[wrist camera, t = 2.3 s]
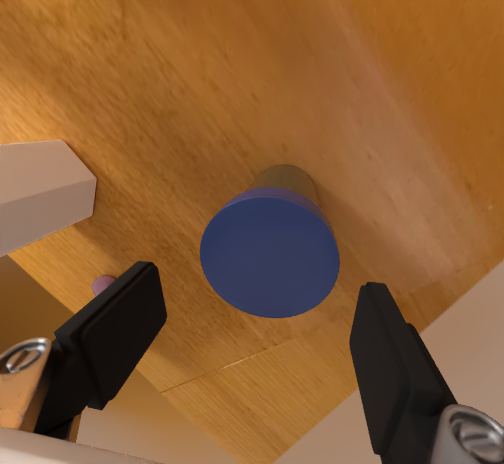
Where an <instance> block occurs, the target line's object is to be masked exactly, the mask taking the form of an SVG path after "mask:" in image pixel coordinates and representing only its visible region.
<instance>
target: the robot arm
mask: <svg viewBox="0 0 504 464" xmlns="http://www.w3.org/2000/svg"><path fill="white" fill-rule="evenodd" d="M166 319H167V312H166V307H165V302H164V297H163V292H162V287H161V282H160V277H159V272H158V268H157V266H155V265H154V263H152V262H145V261H138V262H136V263H135V264H134V265H133V266H132V267H130V268H129V269H128V270H127V271H126V272H125V273H123V274H122V275H121V276H120V277H119V278H117V279H116V280H115V281H114V282H113V283H112V284H110V285H109V286H108V287H107V288H106V289H104V290H103V291H102V292H101V293H100V294H99V295H97V296H96V297H95V298H94V299H93V300H92V301H90V302H89V303H88V304H87V305H86V306H84V307H83V308H82V309H81V310H80V311H79V312H77V313H76V314H75V315H74V316H73V317H71V318H70V319H69V320H68V321H67V322H66V323H64V324H63V325H62V326H61V327H60V328H58V329H57V330H56V331H55V332H54V334H55V336H56V339H55V340H54V341H53V342H51V341H50V339H47V338H45V337H37V338H32V339H28V340H25V341H22V342H20V343H18V344H16V345H14V346H12V347H10V348H9V349H7V350H6V351H4V352H3V353H2V354H1V355H0V464H162V463H158V462H154V461H150V460H146V459H141V458H137V457H132V456H129V455H125V454H121V453H116V452H112V451H108V450H103V449H99V448H95V447H91V446H86V445H82V444H78V443H76V438H77V433H78V429H79V424H80V419H81V414H82V411H83V410H84V408H85V407H86V406H88V407H89V408H93V409H98V410H103V408H104V407H105V405H106V404H107V403H108V401H109V400H112V399H113V398H114V397H115V396H116V395H117V393H118V392H119V390H120V389H121V387H122V386H123V384H124V383H125V381H126V380H127V379H128V377H129V376H130V374H131V373H132V371H133V370H134V368H135V367H136V365H137V364H138V362H139V361H140V359H141V358H142V356H143V355H144V353H145V352H146V350H147V349H148V347H149V346H150V345H151V343H152V342H153V340H154V339H155V337H156V336H157V334H158V333H159V331H160V330H161V328H162V327H163V325H164V324H165V322H166ZM350 350H351V355H352V359H353V364H354V368H355V373H356V377H357V382H358V386H359V390H360V394H361V399H362V403H363V409H364V413H365V418H366V421H367V426H368V431H369V435H370V440H371V444H372V448H373V451H374V453H375V454H377V455H380V457H381V461H382V464H504V427H503V426H501V424H499V423H498V422H497V421H496V420H494V419H493V418H491V417H490V416H488V415H487V414H485V413H483V412H481V411H479V410H477V409H474V408H473V407H469V406H465V405H461V404H458V403H457V401H456V400H455V398H454V396H453V394H452V392H451V391H450V389H449V387H448V385H447V383H446V382H445V380H444V378H443V376H442V375H441V373H440V371H439V369H438V367H437V366H436V364H435V362H434V360H433V359H432V357H431V355H430V353H429V352H428V350H427V348H426V346H425V345H424V343H423V341H422V339H421V337H420V336H419V334H418V332H417V330H416V329H415V327H414V326H413V325H412V324H410V323H406V321H405V320H404V318H403V316H402V314H401V312H400V310H399V308H398V307H397V305H396V303H395V301H394V299H393V297H392V295H391V293H390V292H389V290H388V288H387V286H386V285H385V284H384V283H375V282H367V284H366V286H364V285H362V286H361V288H360V292H359V297H358V301H357V306H356V311H355V316H354V321H353V325H352V330H351V335H350Z"/></svg>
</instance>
